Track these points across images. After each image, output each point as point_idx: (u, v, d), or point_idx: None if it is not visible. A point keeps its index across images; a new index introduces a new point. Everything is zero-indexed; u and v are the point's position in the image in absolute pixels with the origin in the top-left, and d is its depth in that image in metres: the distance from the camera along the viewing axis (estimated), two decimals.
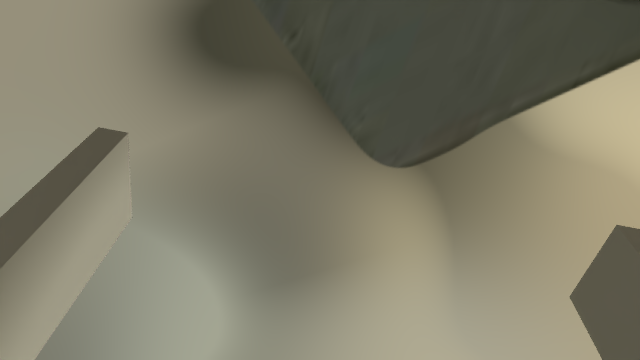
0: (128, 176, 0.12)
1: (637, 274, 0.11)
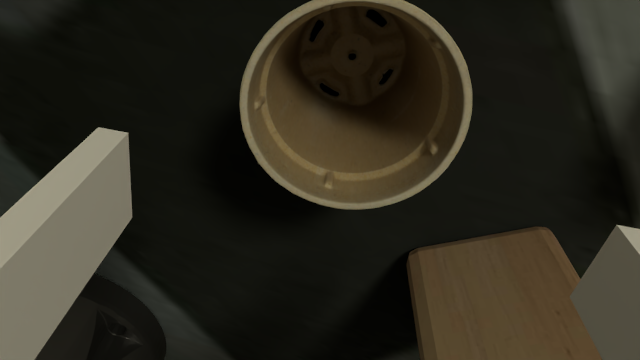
0: (128, 176, 0.12)
1: (637, 274, 0.11)
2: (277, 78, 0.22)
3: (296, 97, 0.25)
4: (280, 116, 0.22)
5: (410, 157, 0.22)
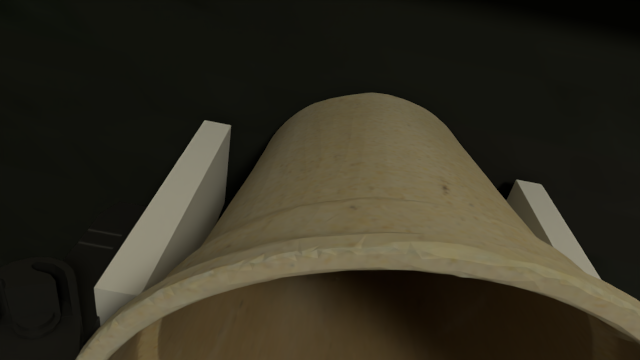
0: (226, 164, 0.14)
1: (526, 221, 0.12)
2: None
3: (253, 285, 0.13)
4: None
5: None
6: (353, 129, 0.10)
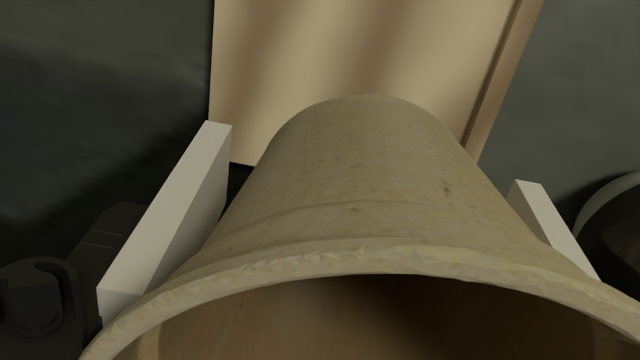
0: (227, 164, 0.14)
1: (525, 220, 0.12)
2: None
3: None
4: None
5: None
6: (353, 130, 0.10)
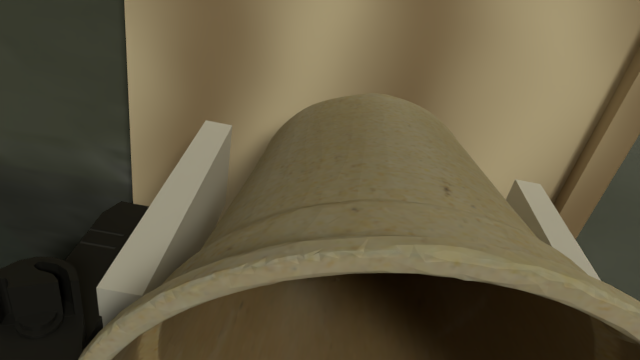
0: (227, 164, 0.14)
1: (526, 220, 0.12)
2: None
3: None
4: None
5: None
6: (354, 130, 0.10)
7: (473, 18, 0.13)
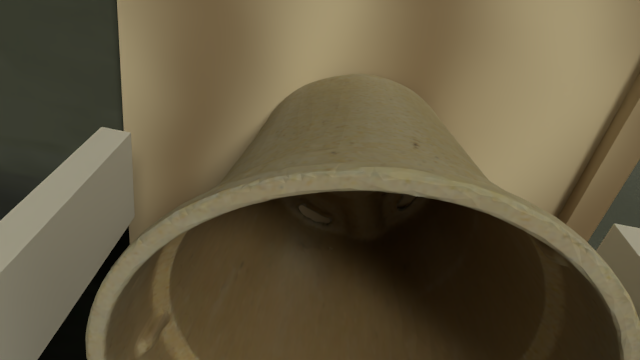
0: (131, 175, 0.13)
1: (634, 273, 0.11)
2: (205, 248, 0.11)
3: (253, 250, 0.14)
4: (212, 318, 0.12)
5: None
6: (341, 101, 0.11)
7: (479, 22, 0.13)
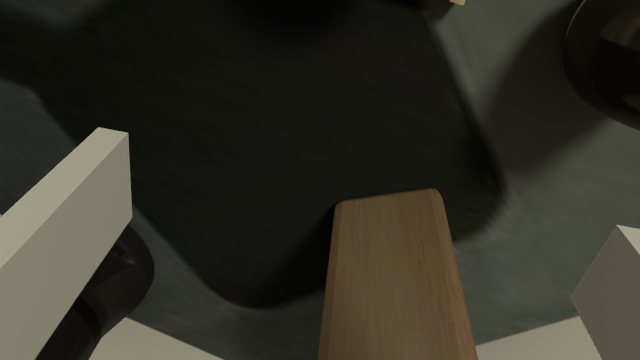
0: (128, 176, 0.12)
1: (638, 274, 0.11)
2: None
3: None
4: None
5: None
6: None
7: None
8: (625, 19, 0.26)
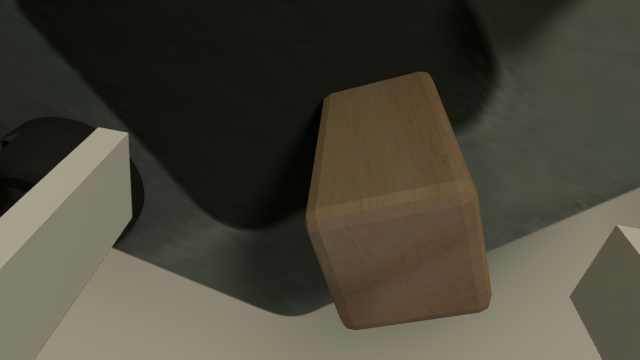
0: (128, 176, 0.12)
1: (638, 275, 0.11)
2: None
3: None
4: None
5: None
6: None
7: None
8: None
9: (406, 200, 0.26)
